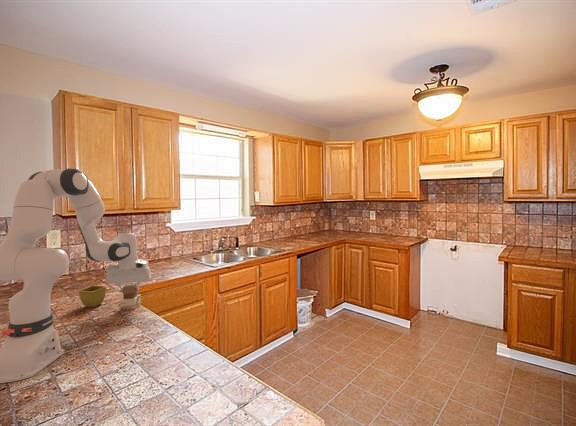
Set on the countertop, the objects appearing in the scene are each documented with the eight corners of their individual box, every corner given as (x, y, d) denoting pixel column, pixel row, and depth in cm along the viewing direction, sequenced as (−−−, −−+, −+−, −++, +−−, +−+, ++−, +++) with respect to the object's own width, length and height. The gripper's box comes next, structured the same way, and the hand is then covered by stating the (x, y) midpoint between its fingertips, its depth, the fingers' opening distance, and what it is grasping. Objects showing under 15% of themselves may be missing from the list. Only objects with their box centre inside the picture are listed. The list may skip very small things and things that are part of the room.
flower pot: (93, 309, 152) (92, 291, 152) (79, 308, 154) (77, 290, 153) (107, 302, 161) (106, 286, 160) (93, 301, 162) (92, 285, 162)
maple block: (135, 309, 152) (134, 299, 152) (120, 309, 152) (120, 299, 151) (141, 303, 159) (140, 294, 159) (127, 304, 159) (126, 295, 158)
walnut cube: (134, 298, 153) (133, 286, 153) (123, 299, 152) (122, 287, 152) (137, 295, 158) (136, 283, 157) (126, 295, 157) (126, 284, 156)
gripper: (103, 266, 149) (105, 294, 150) (148, 264, 153) (149, 291, 154) (108, 263, 155) (109, 290, 156) (151, 261, 159) (152, 287, 160)
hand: (130, 290), depth 155 cm, fingers open, 5 cm apart
